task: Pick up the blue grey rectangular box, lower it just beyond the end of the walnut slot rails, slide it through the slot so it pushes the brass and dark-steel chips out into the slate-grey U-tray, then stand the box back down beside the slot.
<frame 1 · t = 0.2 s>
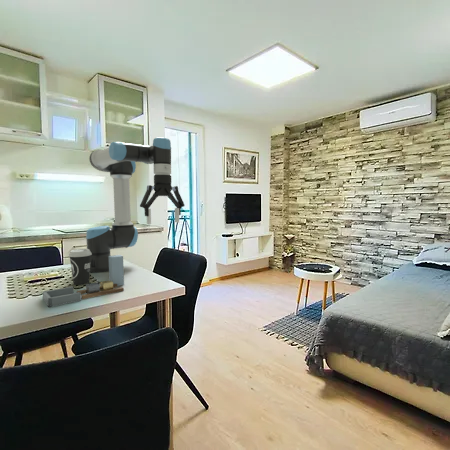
hand: (163, 223, 130), 27 cm above the table, fingers open, 13 cm apart
chip steel: (92, 294, 119), on the table
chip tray: (61, 299, 111), on the table
chip brass: (106, 291, 122), on the table
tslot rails: (100, 292, 120), on the table
coffee cup: (81, 283, 134), on the table
blue grey rectangular box: (116, 284, 131), on the table
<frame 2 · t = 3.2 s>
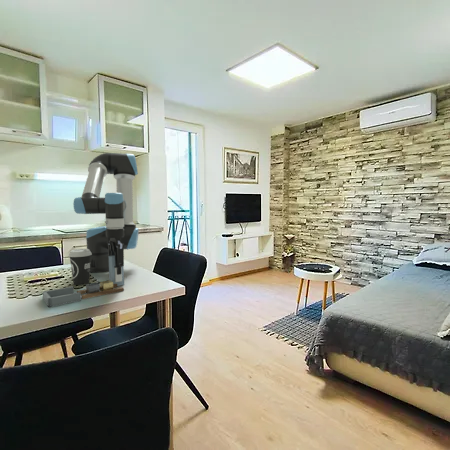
hand: (116, 280, 131), 2 cm above the table, fingers closed on blue grey rectangular box, 4 cm apart
blue grey rectangular box: (116, 284, 131), on the table, touching gripper, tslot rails
everything else where it was.
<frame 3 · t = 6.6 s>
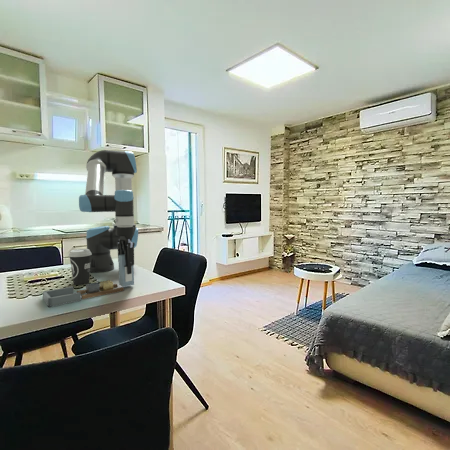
hand: (126, 279, 127), 3 cm above the table, fingers closed on blue grey rectangular box, 4 cm apart
blue grey rectangular box: (126, 284, 128), point 1 cm above the table, touching gripper
everything else where it was.
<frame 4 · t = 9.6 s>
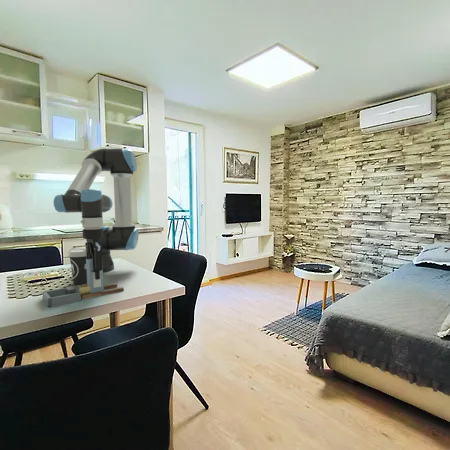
hand: (95, 285, 119), 3 cm above the table, fingers closed on blue grey rectangular box, 4 cm apart
chip steel: (72, 297, 114), on the table
chip brass: (83, 295, 116), on the table, touching blue grey rectangular box
blue grey rectangular box: (95, 290, 119), point 1 cm above the table, touching chip brass, gripper
everything else where it was.
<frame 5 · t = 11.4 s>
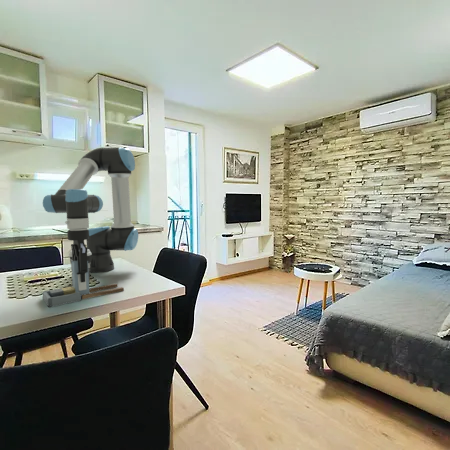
hand: (80, 288, 115), 3 cm above the table, fingers closed on blue grey rectangular box, 4 cm apart
chip steel: (56, 301, 110), on the table
chip brass: (68, 298, 113), on the table, touching blue grey rectangular box
blue grey rectangular box: (81, 293, 116), point 1 cm above the table, touching chip brass, gripper
everything else where it was.
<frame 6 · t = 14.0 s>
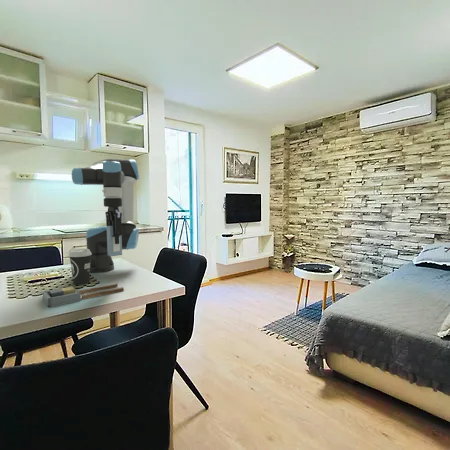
hand: (114, 250, 130), 15 cm above the table, fingers closed on blue grey rectangular box, 4 cm apart
chip brass: (68, 298, 113), on the table
blue grey rectangular box: (114, 255, 130), point 13 cm above the table, touching gripper
everything else where it was.
when the fingers open (3 cm above the table, at t = 16.5 s): blue grey rectangular box drops 1 cm, on the table.
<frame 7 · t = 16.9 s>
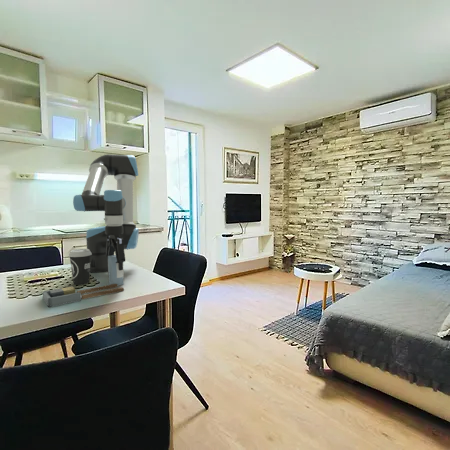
hand: (115, 275, 131), 4 cm above the table, fingers open, 9 cm apart
blue grey rectangular box: (116, 284, 132), on the table
everything else where it was.
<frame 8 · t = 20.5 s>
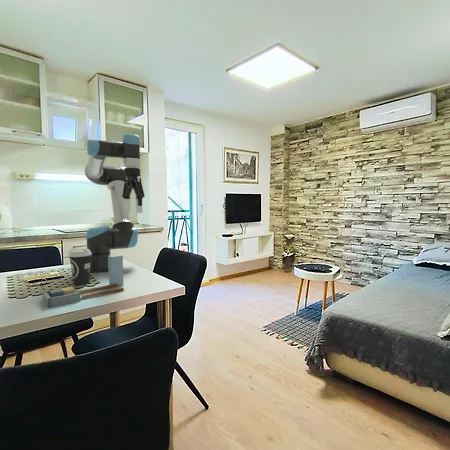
hand: (133, 212, 142), 32 cm above the table, fingers open, 13 cm apart
nothing on the table moved.
at the end: chip brass inside the target area on the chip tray (1.4 cm from its centre), point 0.0 cm above the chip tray's base; chip steel inside the target area on the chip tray (2.6 cm from its centre), point 0.0 cm above the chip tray's base; blue grey rectangular box tilted 0° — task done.
